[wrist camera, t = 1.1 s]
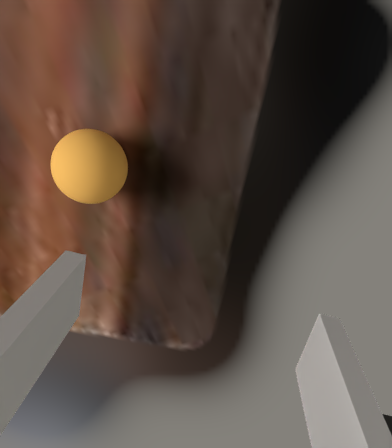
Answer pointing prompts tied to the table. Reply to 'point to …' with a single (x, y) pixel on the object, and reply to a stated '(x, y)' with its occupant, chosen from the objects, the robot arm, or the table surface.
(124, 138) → the table surface
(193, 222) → the table surface
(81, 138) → the ball
